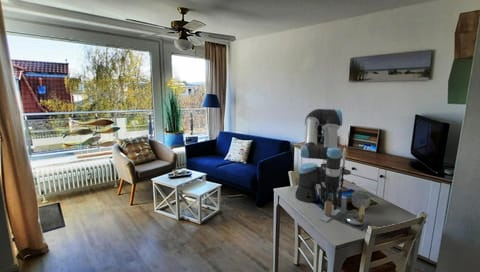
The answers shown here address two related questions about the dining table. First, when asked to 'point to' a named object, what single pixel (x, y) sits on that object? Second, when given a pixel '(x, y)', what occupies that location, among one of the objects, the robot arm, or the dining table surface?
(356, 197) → the teacup
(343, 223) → the wheel stand
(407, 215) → the dining table surface
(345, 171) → the candlestick
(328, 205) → the post in wooden base
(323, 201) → the flower pot
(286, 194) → the dining table surface
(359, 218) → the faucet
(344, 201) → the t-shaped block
